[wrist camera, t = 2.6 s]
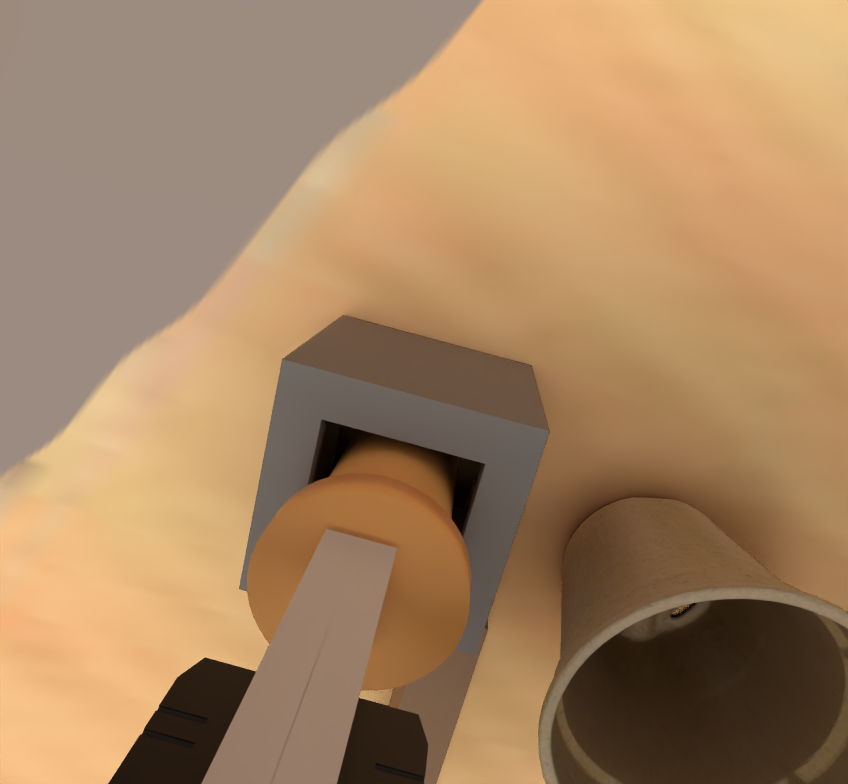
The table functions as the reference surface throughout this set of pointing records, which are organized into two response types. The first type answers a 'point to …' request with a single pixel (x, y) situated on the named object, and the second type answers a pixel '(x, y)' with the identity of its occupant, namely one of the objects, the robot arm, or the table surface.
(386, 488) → the button
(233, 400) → the table surface
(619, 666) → the flower pot
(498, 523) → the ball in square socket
